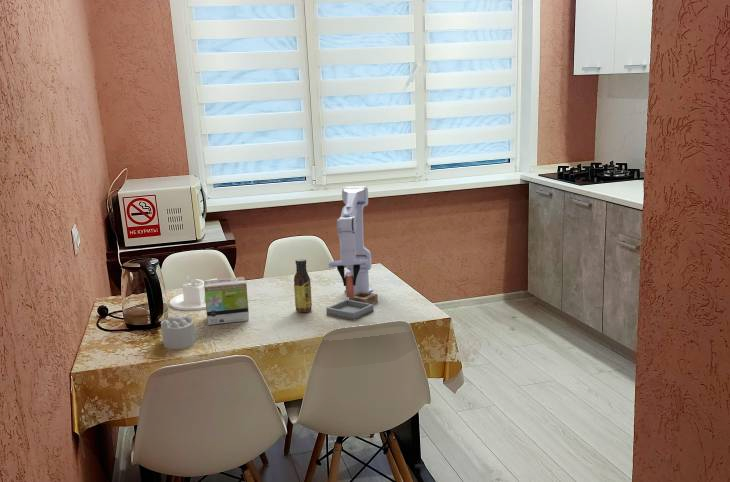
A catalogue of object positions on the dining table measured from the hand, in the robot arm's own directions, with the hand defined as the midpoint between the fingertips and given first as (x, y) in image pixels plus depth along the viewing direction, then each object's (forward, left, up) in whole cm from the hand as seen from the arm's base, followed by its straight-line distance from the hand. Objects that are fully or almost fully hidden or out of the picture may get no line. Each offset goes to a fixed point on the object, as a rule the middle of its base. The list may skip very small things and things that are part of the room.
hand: (349, 285), depth 243 cm
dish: (-63, -20, -11) cm, 67 cm away
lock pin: (0, 0, -4) cm, 4 cm away
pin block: (-3, +11, -11) cm, 16 cm away
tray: (0, -1, -11) cm, 11 cm away
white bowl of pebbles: (-31, -54, -11) cm, 63 cm away
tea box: (-35, -30, -11) cm, 47 cm away
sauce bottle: (-17, -8, -11) cm, 21 cm away
